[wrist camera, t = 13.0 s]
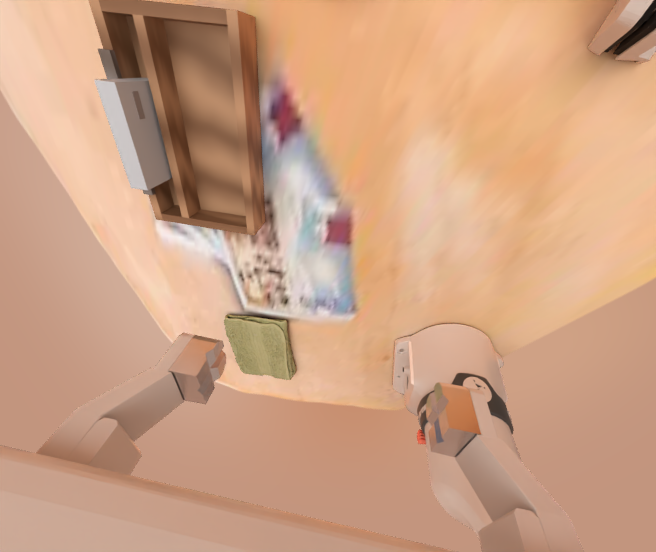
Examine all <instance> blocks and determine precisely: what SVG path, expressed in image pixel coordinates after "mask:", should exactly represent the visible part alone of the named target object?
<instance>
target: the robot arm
mask: <svg viewBox="0 0 656 552" xmlns="http://www.w3.org/2000/svg"><path fill="white" fill-rule="evenodd" d="M223 347H224V345H223V341H221V340H216V339H211V338H207V337H202V336H197V335H193V334H187V333H182V334H181V335H179V336H178V337H177V339H176V340H175V341H174V343H173V344H172V345H171V347H170V348H169V349H168V351H167V352H166V353H165V355H164V356H163V357H162V358H161V360H160V361H159V362H158V364H157V365H156V366H155V368H149V369H147V370H145V371H143V372H141V373H140V374H138V375H136V376H134V377H133V378H131V379H129V380H127V381H126V382H124V383H122V384H120V385H118V386H116V387H115V388H113V389H111V390H109V391H108V392H106V393H104V394H102V395H101V396H99V397H97V398H95V399H93V400H92V401H90V402H88V403H86V404H84V405H82V406H81V407H79V408H77V409H75V410H74V412H73V413H72V414H71V415H70V416H69V417H68V418H67V419H66V420H65V421H64V423H63V424H62V425H61V426H60V427H59V428H58V429H57V430H56V431H55V432H54V434H53V435H52V436H51V437H50V438H49V439H48V441H46V442H45V444H44V445H43V446H42V447H41V448H40V449H39V450H38V451H37V452H36V453H33V452H28V451H24V450H20V449H16V448H11V447H7V446H3V445H0V552H457V551H452V550H448V549H444V548H440V547H435V546H431V545H427V544H423V543H418V542H414V541H410V540H405V539H401V538H396V537H393V536H388V535H384V534H379V533H375V532H371V531H367V530H363V529H358V528H354V527H349V526H345V525H341V524H337V523H332V522H328V521H323V520H319V519H315V518H311V517H307V516H303V515H298V514H294V513H289V512H285V511H281V510H277V509H273V508H268V507H264V506H260V505H255V504H251V503H247V502H243V501H238V500H234V499H230V498H226V497H221V496H216V495H212V494H208V493H204V492H200V491H195V490H191V489H187V488H182V487H178V486H174V485H170V484H166V483H161V482H157V481H152V480H148V479H144V478H140V477H135V476H131V475H130V474H131V472H132V471H133V469H134V468H135V466H136V464H137V463H138V461H139V459H140V458H141V451H140V450H139V448H138V447H137V446H136V445H135V443H134V441H135V440H136V439H138V438H139V437H140V436H141V435H143V434H144V433H145V432H146V431H148V430H149V429H150V428H152V427H153V426H154V425H155V424H157V423H158V422H159V421H160V420H162V419H163V418H164V417H165V416H167V415H168V414H169V413H170V412H172V411H173V410H174V409H175V408H177V407H178V406H179V405H180V404H182V403H183V402H184V400H185V401H191V402H197V403H202V404H206V403H207V401H208V399H209V397H210V395H211V394H212V392H213V390H214V381H215V380H217V379H218V378H220V377H221V375H222V373H223V371H224V367H225V364H226V354H225V353H224V352H223V351H222V349H223ZM503 365H504V362H503V359H502V357H501V356H500V355H499V354H498V353H496V352H495V351H494V349H493V346H492V343H491V341H490V339H489V338H488V337H487V336H486V335H485V334H484V333H483V332H481V331H480V330H478V329H476V328H473V327H470V326H467V325H461V324H441V325H435V326H432V327H428V328H426V329H423V330H421V331H420V332H418V333H416V334H414V335H412V336H408V337H403V338H399V339H397V340H396V341H395V347H394V365H393V383H392V384H393V389H394V390H395V391H397V392H398V393H400V394H403V395H404V396H405V406H406V408H407V409H408V411H410V412H411V413H413V414H414V415H416V416H418V420H419V424H420V425H421V429H422V430H419V431H418V433H417V434H418V435H417V440H418V443H419V444H426V448H427V457H428V467H429V476H430V485H431V488H432V491H433V493H434V495H435V497H436V499H437V500H438V502H439V503H440V505H441V506H442V507H443V509H444V510H445V511H446V512H447V513H448V514H450V515H451V516H452V517H453V518H455V519H456V520H458V521H459V522H461V523H462V524H464V525H465V526H467V527H469V528H471V529H472V530H474V531H475V533H476V534H477V536H478V539H479V541H480V544H481V549H482V552H584V551H583V548H582V546H581V544H580V541H579V538H578V537H577V534H576V531H575V529H574V526H573V524H572V522H571V520H570V518H569V517H568V515H567V514H566V513H565V512H564V511H563V509H562V508H561V507H560V506H559V505H558V504H557V502H555V500H554V499H553V498H552V497H551V495H550V494H549V493H548V492H547V491H546V490H545V488H544V487H543V486H542V485H541V484H540V483H539V481H538V480H537V479H536V478H535V477H534V475H533V474H532V473H531V472H530V471H529V470H528V468H527V467H526V466H525V465H524V464H523V463H522V461H521V458H520V455H519V452H518V450H517V447H516V444H515V442H514V439H513V436H512V434H513V426H512V421H511V417H510V414H509V411H507V408H506V405H505V403H506V402H507V400H508V397H507V393H506V389H505V385H504V381H503V378H502V374H501V370H500V368H501V367H502V366H503Z"/></svg>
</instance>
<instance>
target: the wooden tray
mask: <svg viewBox="0 0 656 552" xmlns="http://www.w3.org/2000/svg"><path fill="white" fill-rule="evenodd" d="M89 3H90V6H91V10H92V13H93V16H94V19H95V23H96V26H97V29H98V32H99V36H100V39H101V42H102V45H103V49H98V51H99V54H100V57H101V61H102V64H103V67H104V70H105V73H106V76H107V79H124V78H148V80H149V84H150V88H151V92H152V96H153V101H154V105H155V109H156V113H157V117H158V121H159V125H160V129H161V133H162V137H163V141H164V145H165V149H166V154H167V158H168V162H169V166H170V170H171V174H172V178H171V179H169V180H167V181H165V182H163V183H161V184H159V185H157V186H156V187H154V188H152V189H150V190H143V193H144V194H148V195H149V198H150V201H151V204H152V207H153V211H154V214H155V217H156V219H157V220H164V221H170V222H176V223H182V224H188V225H194V226H200V227H206V228H213V229H219V230H225V231H231V232H237V233H243V234H249V235H255V234H256V233H257V232H258V230H259V229H260V228H261V227H262V225H263V224H264V223H265V206H264V186H263V166H262V146H261V126H260V106H259V86H258V66H257V46H256V26H255V17H253V16H251V15H248V14H246V13H243V12H240V11H238V10H230V9H220V8H211V7H201V6H191V5H182V4H172V3H162V2H153V1H143V0H89Z"/></svg>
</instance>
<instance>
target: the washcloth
mask: <svg viewBox="0 0 656 552" xmlns="http://www.w3.org/2000/svg"><path fill="white" fill-rule="evenodd" d="M224 324H225V326H226V327H225V329H226V335H227V337H228V338H229V342H230V344H231V347H232V349H233V352H234V354H235V356H236V358H235V359H236V361H237V363H238V365H239V366H240V370H241V371H242V372H243V373H246V374H252V375H261V376H262V375H269V376H273V377H275V378H281V379H284V380H291V378H292V377H293V375H294V374H295V372H296V367H295V366H296V365H295V364H294V360H293V356H292V350H291V347H290V345H291V344H290V343H289V342H290V340H289V337H288V332H287V330H288V328H287V321H286V320H283V319H282V320H275V319H266V318H259V317H253V316H235V315H229V314H228V315H226V316H225V320H224Z"/></svg>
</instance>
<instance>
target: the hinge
mask: <svg viewBox="0 0 656 552" xmlns="http://www.w3.org/2000/svg"><path fill="white" fill-rule="evenodd" d="M621 41H622V42H621ZM620 42H621V43H620ZM618 43H620V44H619V46H618V47H617V49H616V50H615V52H614V53H613V54H616V55H617V57H616V58H615V60H632V61H636V62H635V63H643V62H647V61H649V59H650V58H651V57H652V56H653V54H654V53H655V52H656V0H618V1H617V2H616V4H615V5H614V7H613V8H612V10H611V12H610V13H609V15H608V16H607V18H606V19H605V21H604V23H603V24H602V26H601V27H600V29H599V30H598V32H597V33H596V35H595V37H594V38H593V40H592V41H591V43H590V44H589V46H588V47H587V49H589V50H590V51H591V52H593V53H595V54H596V55H598V56H599V55H600V54H601V53H602V52H603V51H604V52H608V51H610V50H611V49H612V48H613V47H615V46H616V45H617V44H618Z"/></svg>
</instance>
